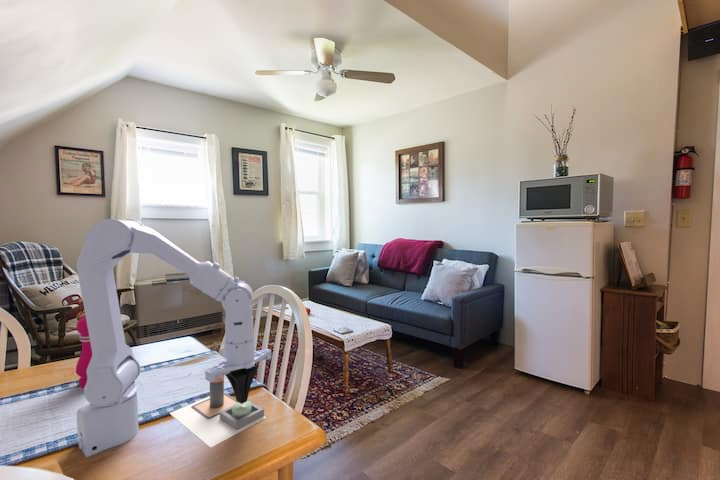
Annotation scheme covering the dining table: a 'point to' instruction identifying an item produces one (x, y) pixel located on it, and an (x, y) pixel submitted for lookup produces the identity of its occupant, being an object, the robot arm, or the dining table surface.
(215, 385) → the marker
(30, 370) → the dining table surface
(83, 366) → the pepper mill
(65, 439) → the dining table surface
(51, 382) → the dining table surface
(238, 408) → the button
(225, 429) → the board
